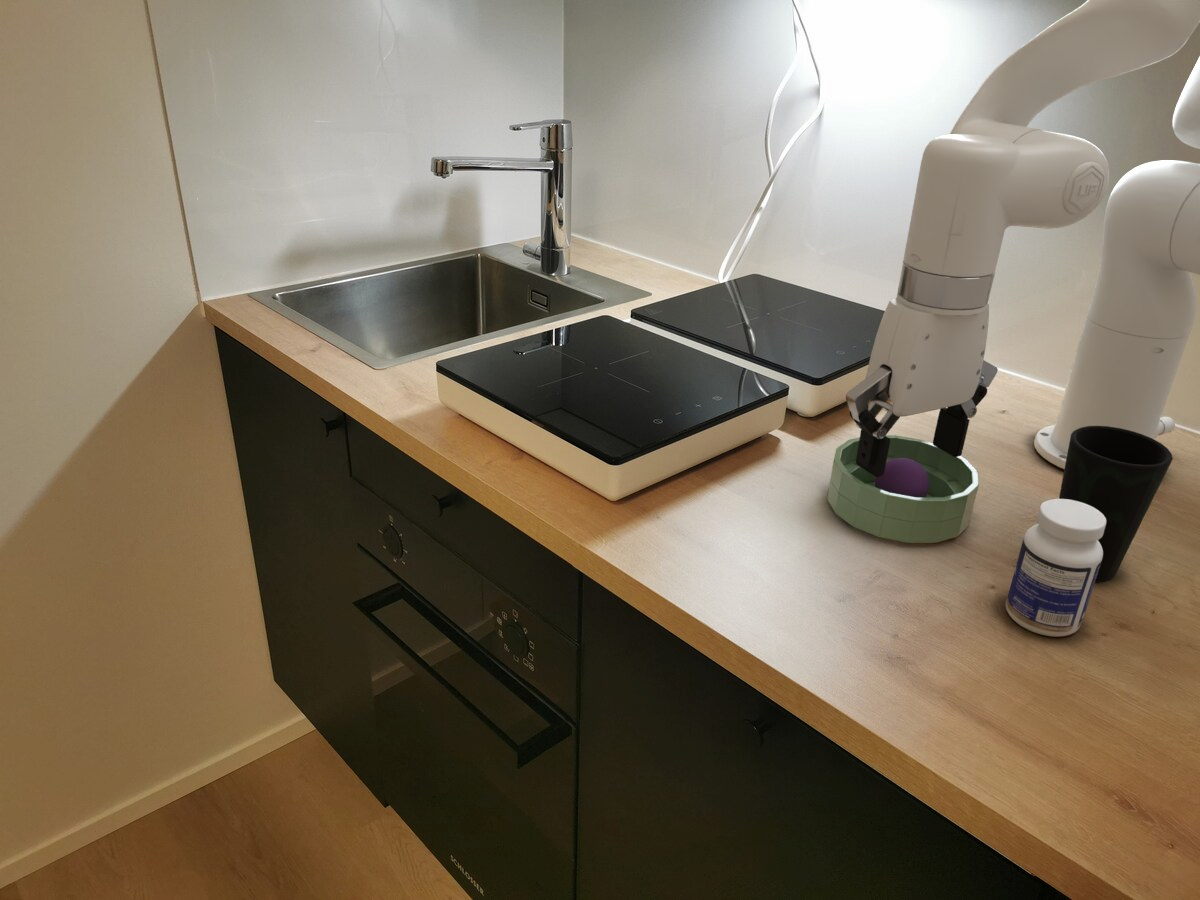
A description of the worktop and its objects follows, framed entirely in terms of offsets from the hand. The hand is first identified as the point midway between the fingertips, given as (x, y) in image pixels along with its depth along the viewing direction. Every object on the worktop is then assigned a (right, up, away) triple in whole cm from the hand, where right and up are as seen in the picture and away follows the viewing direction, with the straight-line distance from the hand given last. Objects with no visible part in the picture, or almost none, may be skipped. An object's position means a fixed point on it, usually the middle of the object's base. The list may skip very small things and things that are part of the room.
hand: (908, 460), depth 86 cm
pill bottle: (+7, -13, -12) cm, 19 cm away
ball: (0, -2, +1) cm, 3 cm away
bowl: (0, -5, +2) cm, 6 cm away
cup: (+14, -9, -5) cm, 17 cm away
